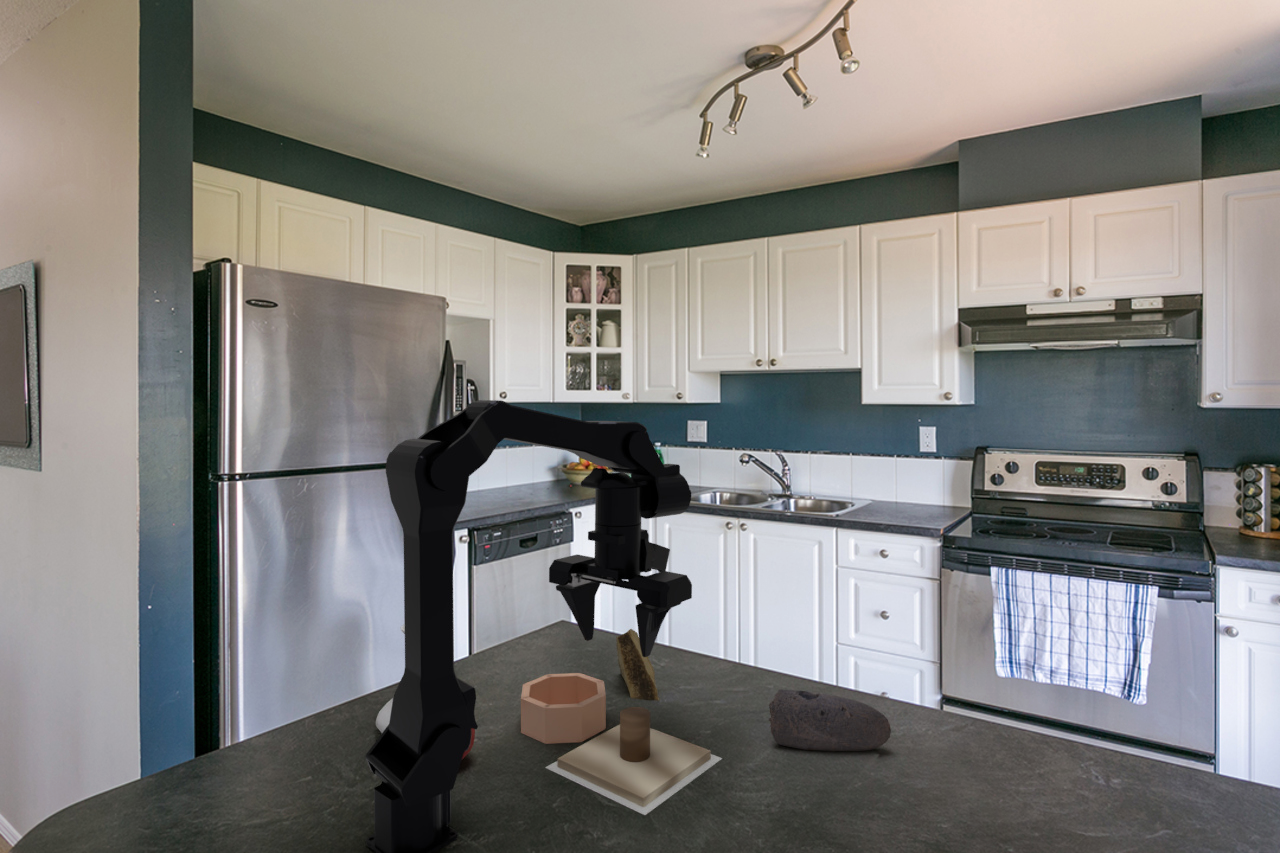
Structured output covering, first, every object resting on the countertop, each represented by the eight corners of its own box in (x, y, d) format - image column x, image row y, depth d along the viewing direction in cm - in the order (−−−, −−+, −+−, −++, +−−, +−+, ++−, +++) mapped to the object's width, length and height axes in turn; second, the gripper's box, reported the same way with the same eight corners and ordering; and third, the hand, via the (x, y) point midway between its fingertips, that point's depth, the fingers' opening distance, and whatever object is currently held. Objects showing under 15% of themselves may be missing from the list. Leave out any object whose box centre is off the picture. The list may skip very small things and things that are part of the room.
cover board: (643, 807, 75) (643, 751, 75) (557, 766, 83) (557, 716, 83) (710, 758, 85) (711, 710, 85) (628, 727, 93) (628, 682, 93)
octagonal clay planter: (563, 755, 87) (563, 715, 86) (504, 729, 94) (504, 691, 93) (621, 723, 95) (621, 687, 95) (563, 701, 102) (563, 667, 102)
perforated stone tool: (887, 744, 90) (888, 690, 90) (894, 765, 85) (895, 708, 85) (768, 734, 93) (768, 682, 92) (768, 754, 87) (769, 699, 87)
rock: (605, 657, 113) (587, 672, 104) (638, 616, 113) (623, 627, 103) (657, 705, 111) (643, 724, 101) (690, 663, 110) (680, 679, 101)
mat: (644, 819, 74) (644, 814, 74) (545, 771, 83) (545, 767, 83) (722, 762, 85) (722, 758, 85) (627, 725, 95) (627, 722, 95)
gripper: (717, 523, 88) (715, 647, 88) (602, 508, 99) (601, 618, 100) (665, 535, 79) (663, 673, 79) (546, 517, 90) (545, 638, 91)
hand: (616, 647), depth 88 cm, fingers open, 9 cm apart
